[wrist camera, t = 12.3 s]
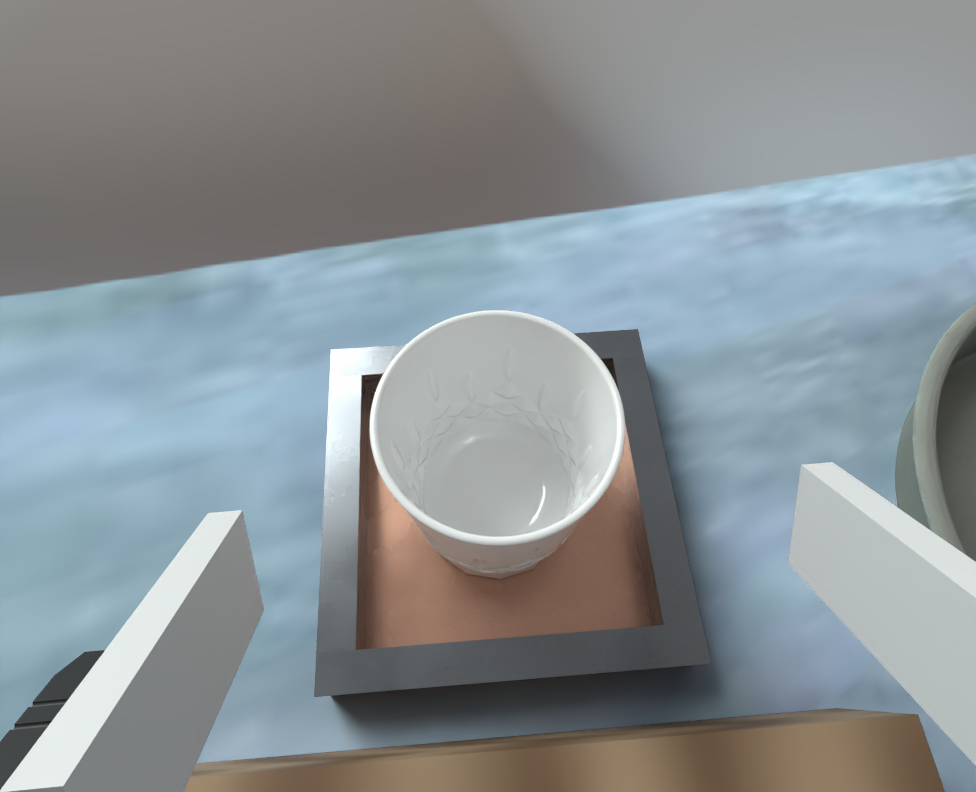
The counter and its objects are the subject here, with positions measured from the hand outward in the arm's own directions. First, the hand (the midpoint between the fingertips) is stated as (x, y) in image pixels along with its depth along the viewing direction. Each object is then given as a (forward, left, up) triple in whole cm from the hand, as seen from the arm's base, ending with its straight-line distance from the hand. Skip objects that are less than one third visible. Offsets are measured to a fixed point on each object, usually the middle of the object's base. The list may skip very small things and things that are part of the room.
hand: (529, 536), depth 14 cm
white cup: (0, +4, -13) cm, 14 cm away
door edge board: (0, -7, -13) cm, 15 cm away
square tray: (0, +4, -13) cm, 14 cm away
